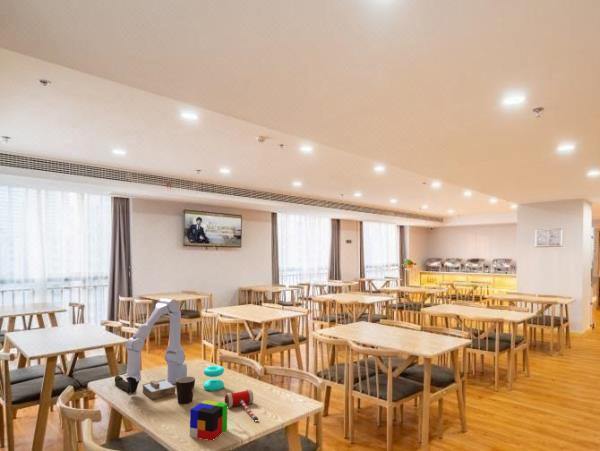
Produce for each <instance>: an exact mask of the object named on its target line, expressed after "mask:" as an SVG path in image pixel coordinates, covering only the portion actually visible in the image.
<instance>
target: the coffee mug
mask: <svg viewBox="0 0 600 451" xmlns="http://www.w3.org/2000/svg"><path fill="white" fill-rule="evenodd" d="M195 382H196V378H195V376H191V375H189V376H188V375H187V376H186V377H180V378H178V379H176V383H175V386H176V388H175V389H176V396H177V398H176V399H177V404H179V405H188V404H191V403H193V401H194V400H193V398H194V391H195V385H196V384H195Z"/></svg>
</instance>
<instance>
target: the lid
mask: <svg viewBox="0 0 600 451" xmlns="http://www.w3.org/2000/svg"><path fill="white" fill-rule="evenodd" d="M164 380H165V381H160V380H159V381H160V382H156V380H150V383H151V384H147V383H145V384H146V385H143V384H142V388H143V387H145V388H146V389H147V390H149V391H150V392H151V393H152V391H157V390H161V389H165V388H170V387H174V386H175V385H174V384H170V383H169V382H167V381H166V379H164Z"/></svg>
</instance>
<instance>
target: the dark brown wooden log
mask: <svg viewBox="0 0 600 451" xmlns="http://www.w3.org/2000/svg"><path fill="white" fill-rule="evenodd" d="M123 378H124V377H122V376H121V375H116V376H114V384H115V386H116V387H118V388H119V386H120V388H122V389H123V390H125V391H126V392H127V394H132V393H131V392H130V388H129V384H128V381H127V380H125V379H123Z"/></svg>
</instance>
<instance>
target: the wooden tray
mask: <svg viewBox="0 0 600 451" xmlns="http://www.w3.org/2000/svg"><path fill="white" fill-rule="evenodd" d="M165 380H166V379H161V380H157V381H156V380H155V381H156V382H160V381H165ZM146 384H151V382H147V383H143V384H142V393H143V394H144V395H145V396H146V397H147V398H149V399H150V400H152V401H153V400H154V401H155V400H158V399H162V398H163V399H164V398H166V397H171V396H174V395H176V389H177V388H176V385H173V386H174V387H170V388H165V389H161V390H157V391H152V393H151V392H150V391H149V390H147V389H146V388H145V387H143V385H146Z"/></svg>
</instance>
